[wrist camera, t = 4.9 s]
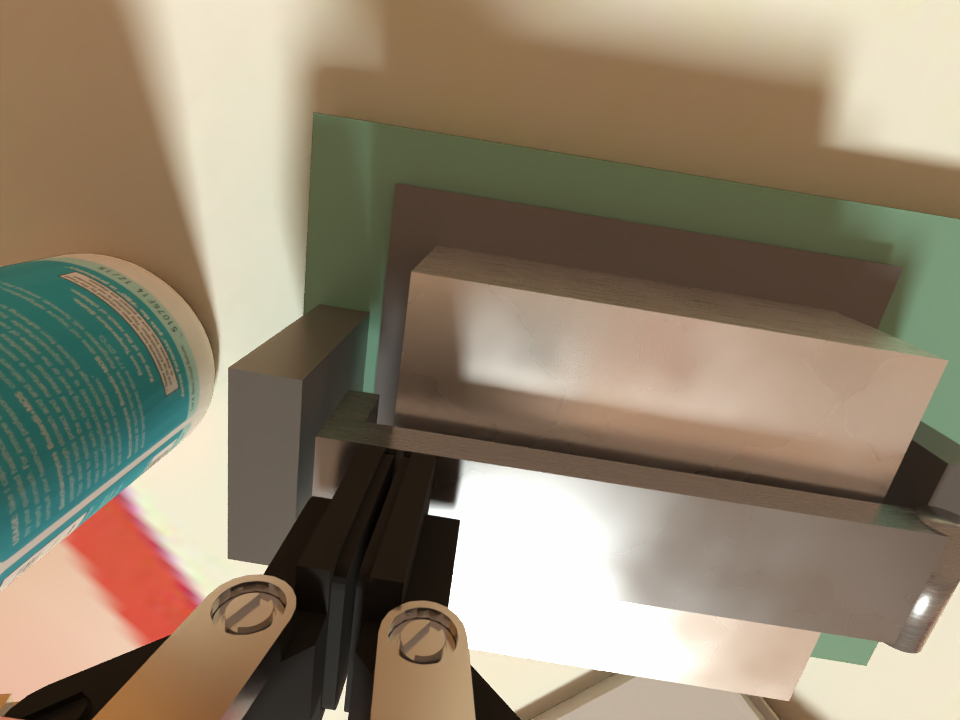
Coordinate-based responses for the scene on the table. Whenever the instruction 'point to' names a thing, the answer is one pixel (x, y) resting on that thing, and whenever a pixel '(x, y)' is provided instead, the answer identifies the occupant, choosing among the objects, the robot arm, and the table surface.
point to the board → (609, 360)
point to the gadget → (657, 702)
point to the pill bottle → (88, 392)
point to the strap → (671, 534)
